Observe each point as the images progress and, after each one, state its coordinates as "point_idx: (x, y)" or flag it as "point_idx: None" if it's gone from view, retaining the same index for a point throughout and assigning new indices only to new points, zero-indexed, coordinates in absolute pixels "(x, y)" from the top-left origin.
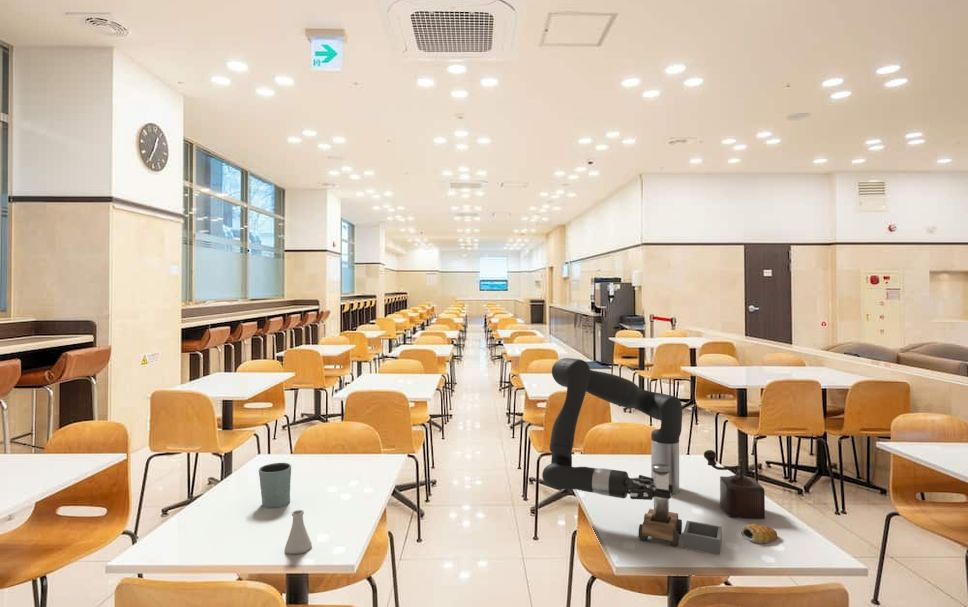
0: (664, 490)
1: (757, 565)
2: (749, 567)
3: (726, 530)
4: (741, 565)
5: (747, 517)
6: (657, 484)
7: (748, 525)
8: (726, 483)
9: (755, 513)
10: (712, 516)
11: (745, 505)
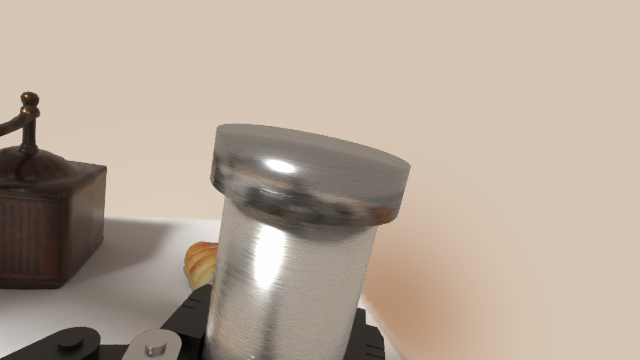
0: (364, 332)
1: (368, 317)
2: (387, 333)
3: (161, 320)
4: (386, 345)
5: (85, 259)
6: (346, 336)
7: (208, 263)
8: (12, 187)
9: (94, 238)
10: (23, 325)
11: (84, 229)
